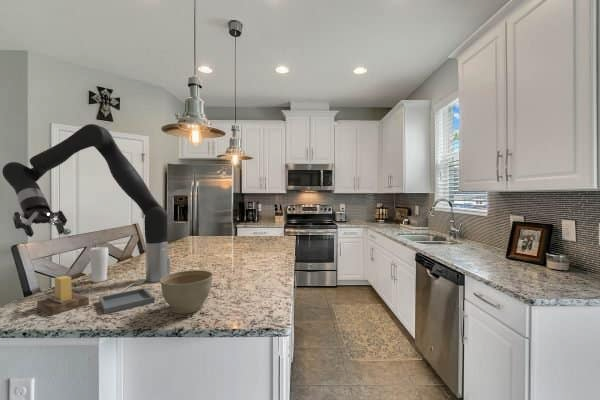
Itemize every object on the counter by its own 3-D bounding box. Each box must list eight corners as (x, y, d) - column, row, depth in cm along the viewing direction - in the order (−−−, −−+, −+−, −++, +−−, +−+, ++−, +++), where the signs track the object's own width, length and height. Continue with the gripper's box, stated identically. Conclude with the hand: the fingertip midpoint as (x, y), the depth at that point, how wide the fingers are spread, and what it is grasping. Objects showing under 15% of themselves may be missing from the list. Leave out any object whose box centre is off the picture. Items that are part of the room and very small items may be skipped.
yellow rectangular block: (65, 303, 98) (65, 275, 97) (71, 305, 95) (71, 277, 95) (55, 306, 95) (54, 277, 95) (61, 309, 93) (60, 279, 93)
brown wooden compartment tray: (72, 298, 102) (72, 289, 102) (88, 304, 97) (88, 294, 97) (37, 308, 94) (36, 298, 94) (53, 314, 88) (52, 304, 88)
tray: (144, 292, 109) (144, 287, 109) (154, 302, 98) (154, 297, 98) (99, 301, 99) (99, 296, 99) (104, 314, 88) (104, 308, 88)
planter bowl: (156, 307, 94) (155, 275, 93) (203, 296, 103) (203, 267, 103) (166, 324, 81) (166, 287, 81) (220, 310, 91) (219, 277, 90)
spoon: (148, 282, 123) (147, 278, 123) (112, 299, 103) (112, 294, 103) (139, 282, 123) (139, 278, 123) (102, 299, 103) (102, 294, 103)
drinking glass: (99, 283, 121) (98, 249, 121) (86, 282, 122) (85, 249, 122) (112, 279, 127) (111, 246, 127) (100, 278, 129) (99, 246, 129)
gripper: (10, 195, 98) (23, 228, 93) (59, 195, 111) (74, 225, 105) (4, 210, 101) (17, 243, 95) (53, 208, 113) (67, 238, 108)
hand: (47, 233), depth 100 cm, fingers open, 8 cm apart
